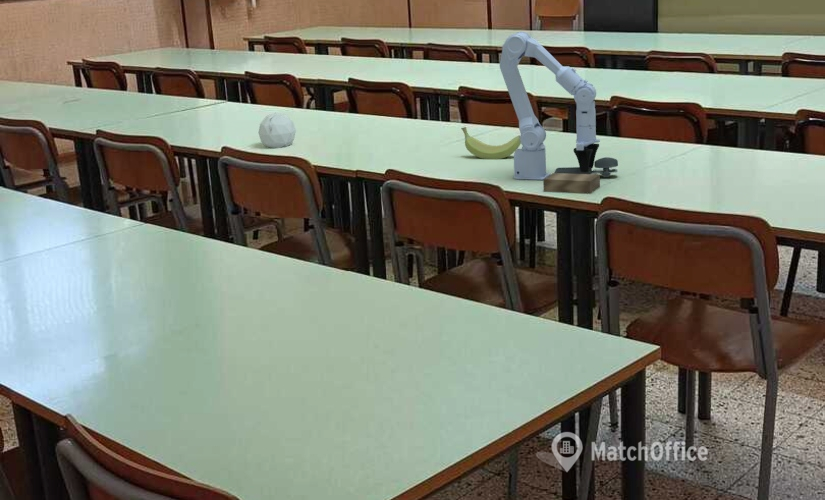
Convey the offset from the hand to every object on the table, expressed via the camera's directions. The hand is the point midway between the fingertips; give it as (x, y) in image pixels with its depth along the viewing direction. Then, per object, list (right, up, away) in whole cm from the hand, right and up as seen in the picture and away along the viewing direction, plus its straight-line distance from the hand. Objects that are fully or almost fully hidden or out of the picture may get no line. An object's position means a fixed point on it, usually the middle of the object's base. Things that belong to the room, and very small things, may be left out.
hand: (586, 169), depth 322 cm
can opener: (0, -3, +1) cm, 3 cm away
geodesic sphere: (-104, +13, +82) cm, 133 cm away
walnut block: (-6, -7, -13) cm, 16 cm away
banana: (-19, +7, +33) cm, 39 cm away
